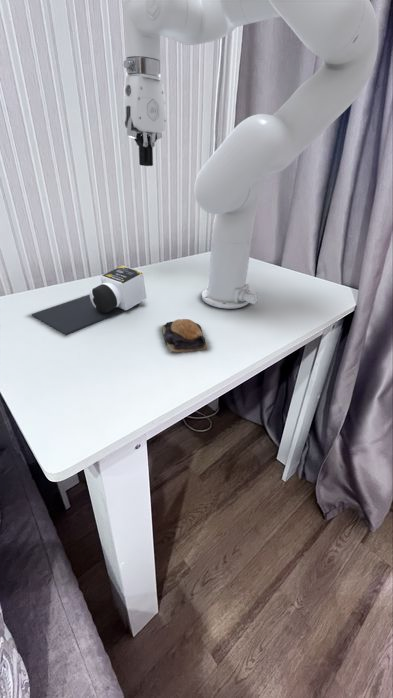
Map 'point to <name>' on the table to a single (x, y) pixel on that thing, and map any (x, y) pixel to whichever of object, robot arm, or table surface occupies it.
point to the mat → (74, 315)
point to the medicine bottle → (119, 290)
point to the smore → (183, 336)
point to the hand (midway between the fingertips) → (146, 165)
